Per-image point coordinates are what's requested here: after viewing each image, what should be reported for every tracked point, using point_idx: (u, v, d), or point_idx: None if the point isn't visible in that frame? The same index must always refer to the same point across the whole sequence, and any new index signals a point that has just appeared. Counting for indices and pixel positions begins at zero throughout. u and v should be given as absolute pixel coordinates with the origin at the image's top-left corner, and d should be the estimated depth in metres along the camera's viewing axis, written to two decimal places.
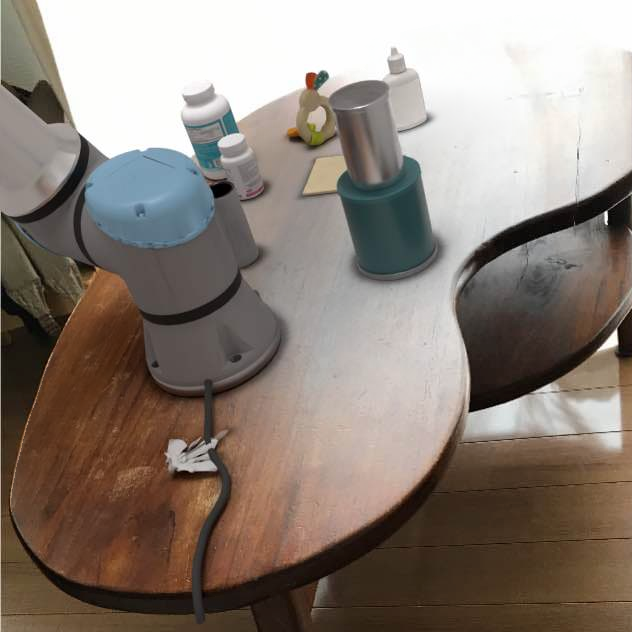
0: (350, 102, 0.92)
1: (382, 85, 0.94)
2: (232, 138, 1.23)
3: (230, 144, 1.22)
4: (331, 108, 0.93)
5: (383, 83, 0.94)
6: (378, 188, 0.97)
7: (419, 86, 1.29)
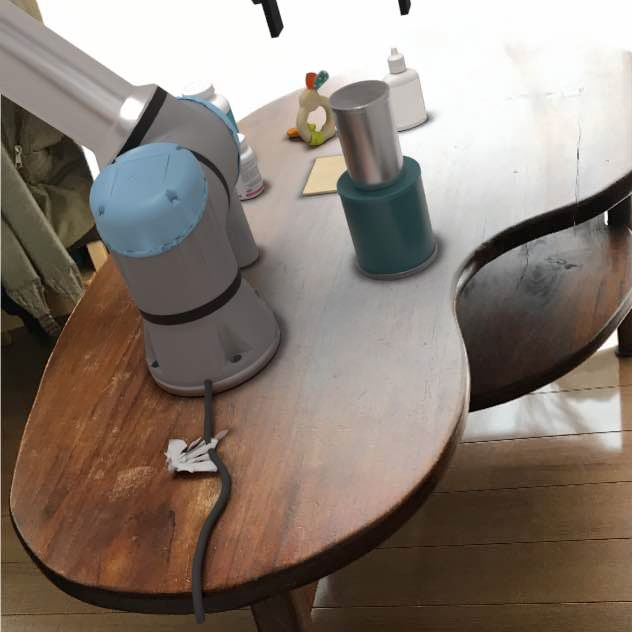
0: (350, 102, 0.92)
1: (382, 85, 0.94)
2: None
3: None
4: (331, 108, 0.93)
5: (383, 83, 0.94)
6: (378, 188, 0.97)
7: (419, 86, 1.29)
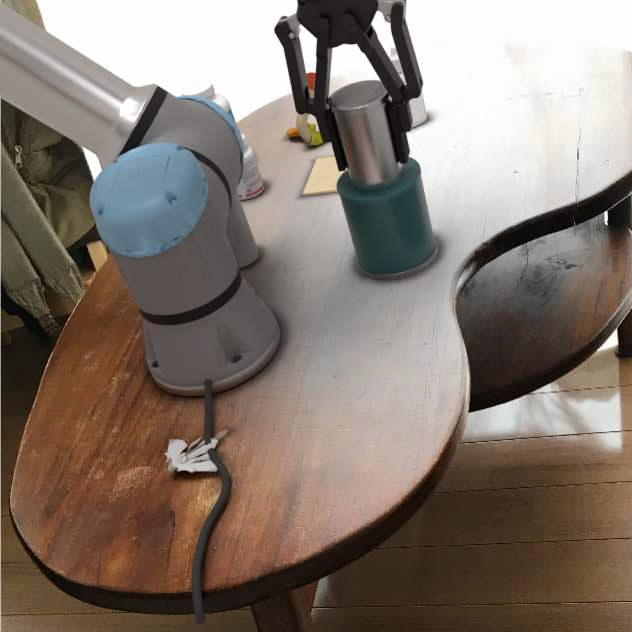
0: (350, 102, 0.92)
1: (382, 85, 0.94)
2: None
3: None
4: (331, 108, 0.93)
5: None
6: (378, 188, 0.97)
7: None
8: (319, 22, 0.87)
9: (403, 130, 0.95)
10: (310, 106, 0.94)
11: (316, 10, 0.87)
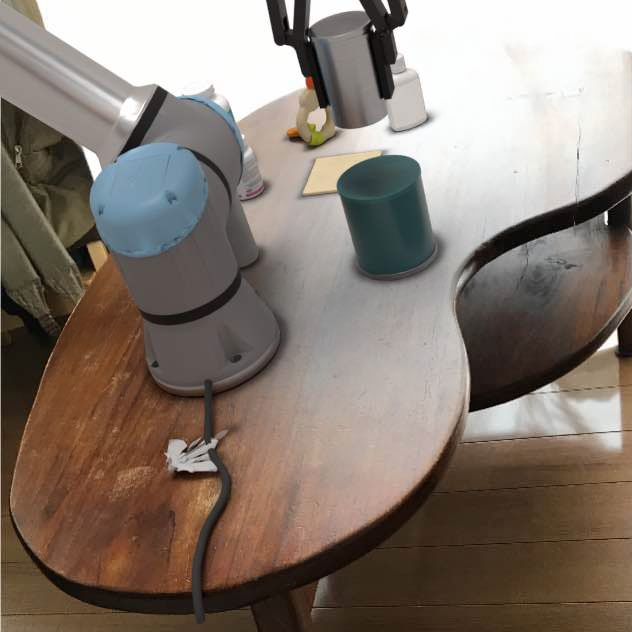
0: (331, 31, 0.87)
1: (365, 15, 0.89)
2: None
3: None
4: (311, 38, 0.88)
5: None
6: (361, 126, 0.92)
7: (419, 86, 1.29)
8: None
9: (387, 63, 0.90)
10: (289, 36, 0.90)
11: None
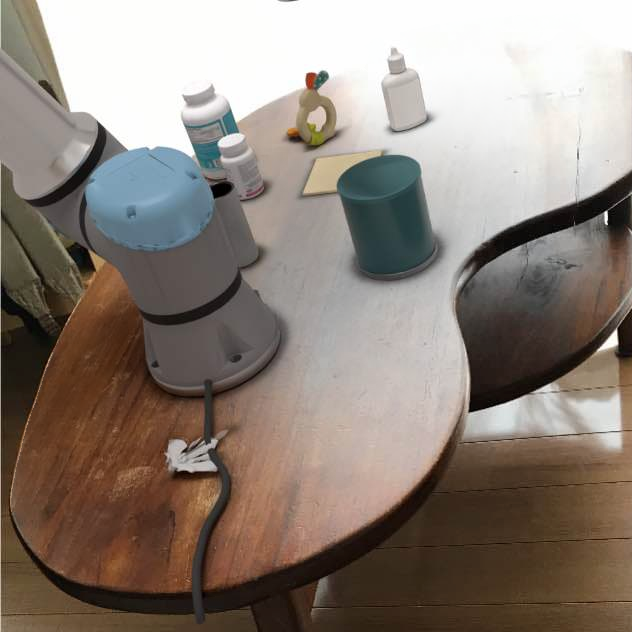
0: None
1: None
2: (232, 138, 1.23)
3: (230, 144, 1.22)
4: None
5: None
6: None
7: (419, 86, 1.29)
8: None
9: None
10: None
11: None
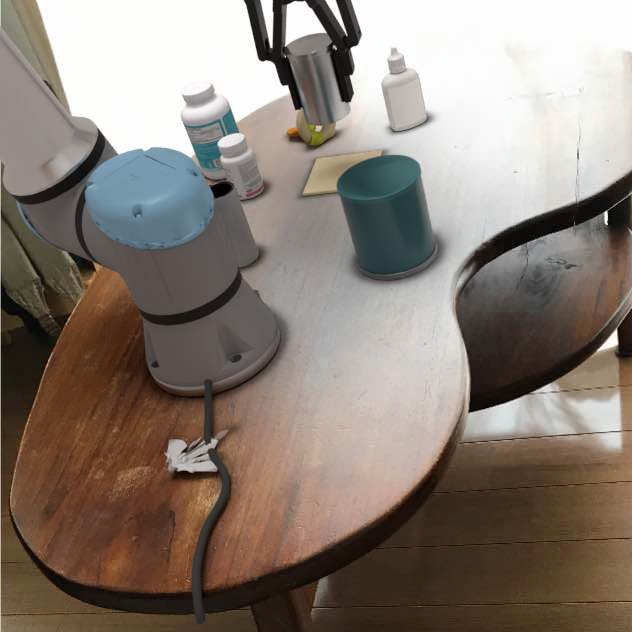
0: (301, 50, 1.12)
1: (328, 36, 1.14)
2: (232, 138, 1.23)
3: (230, 144, 1.22)
4: (286, 55, 1.13)
5: None
6: (327, 123, 1.17)
7: (419, 86, 1.29)
8: None
9: (346, 74, 1.15)
10: (269, 54, 1.15)
11: None
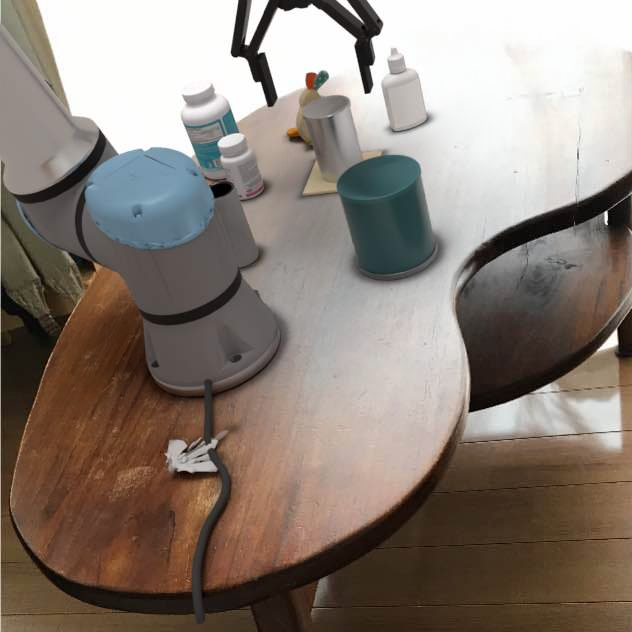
0: (319, 113, 1.18)
1: (344, 99, 1.19)
2: (232, 138, 1.23)
3: (230, 144, 1.22)
4: (304, 117, 1.18)
5: (346, 97, 1.20)
6: None
7: (419, 86, 1.29)
8: None
9: (367, 64, 1.13)
10: (242, 50, 1.15)
11: None
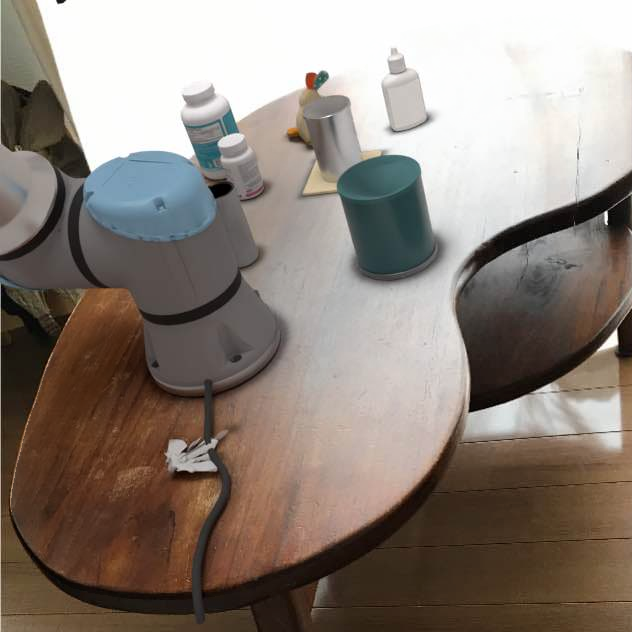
0: (319, 113, 1.18)
1: (344, 99, 1.19)
2: (232, 138, 1.23)
3: (230, 144, 1.22)
4: (304, 117, 1.18)
5: (346, 97, 1.20)
6: None
7: (419, 86, 1.29)
8: None
9: None
10: None
11: None
